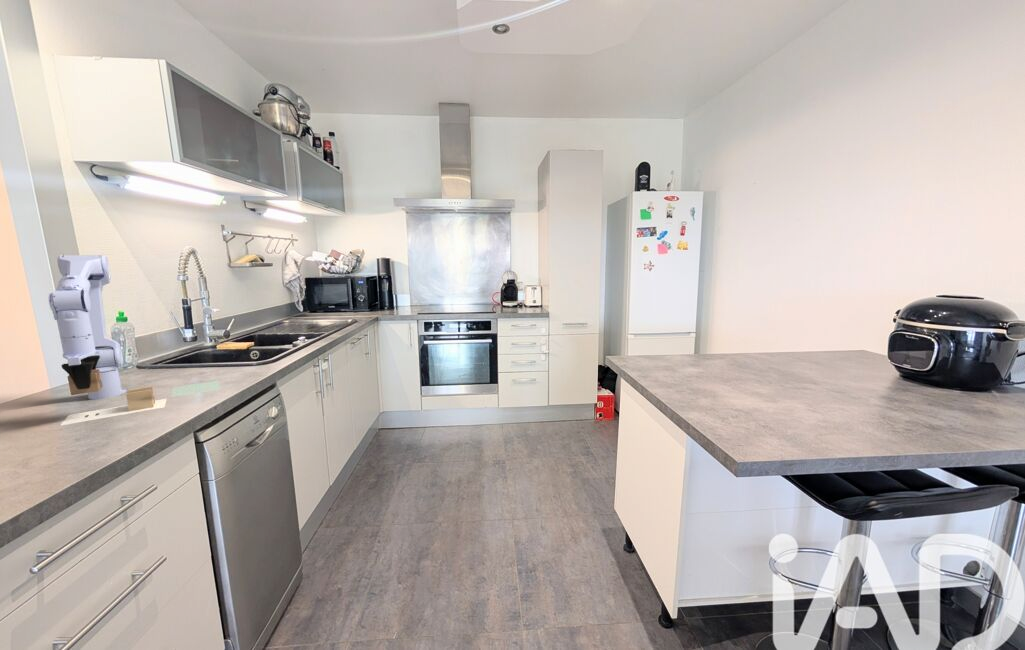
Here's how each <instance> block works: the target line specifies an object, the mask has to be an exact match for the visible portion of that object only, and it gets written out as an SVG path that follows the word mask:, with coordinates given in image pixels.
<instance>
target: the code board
mask: <svg viewBox="0 0 1025 650" xmlns="http://www.w3.org/2000/svg"><path fill="white" fill-rule="evenodd" d="M166 403H167V398H162V399H161V398H160V399H155V404H154V407H151V408H145V409H139V410H133V411H129V407H128V404H125V405H120V406H116V407H115V406H114V407H108V408H101V409H97V410H95V409H94V410H90V411H85V412H79V413H73V414H68V416H67V417H65V419H64V420H63V421H62V422H61V423H60V427H61V426H65V425H66V426H67V425H71V424H77V423H84V422H87V421H94V420H100V419H104V418H111V417H117V416H122V415H128V414H133V413H134V414H135V413H138V412H139V413H140V412H145V411H150V410H157V409H161V408H162V409H163V408H165V407H166Z"/></svg>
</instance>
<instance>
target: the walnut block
mask: <svg viewBox="0 0 1025 650" xmlns="http://www.w3.org/2000/svg"><path fill="white" fill-rule="evenodd" d="M67 381H68V387H69V390H70V392H69V393H70V395H71V396H75V395H81V394H82V395H83V394H88V393H90V392H97V391H99V390H100V389H101V388H102V381H101V376H100V370H99V369H96V370H91V384H90V388H87V389H79V390H78V389H77V387H76V386H75V384H74V382H73V380H72V378H71V377H70V375H69V374H68V376H67Z"/></svg>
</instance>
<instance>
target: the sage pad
mask: <svg viewBox="0 0 1025 650" xmlns="http://www.w3.org/2000/svg"><path fill="white" fill-rule="evenodd" d="M218 390H221V386H220V381H219V380H212V381H208V382H200V383H199V382H198V383H193V384H187V385H181V386H175V387H172V391H171V396H170V398H175V397H181V396H187V395H193V394H198V393H199V394H200V393H206V392H213V391H218Z"/></svg>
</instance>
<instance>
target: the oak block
mask: <svg viewBox="0 0 1025 650" xmlns="http://www.w3.org/2000/svg"><path fill="white" fill-rule="evenodd" d="M125 395H126V401H127V405H128V407H129V411H133V410H139V409H145V408H151V407H154V404H155V400H156V399H155V395H154V388H153V385H150V386H149V385H148V386H144V387H143V386H142V387H136V388H129V389H128V390H127V391H126V392H125Z"/></svg>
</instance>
